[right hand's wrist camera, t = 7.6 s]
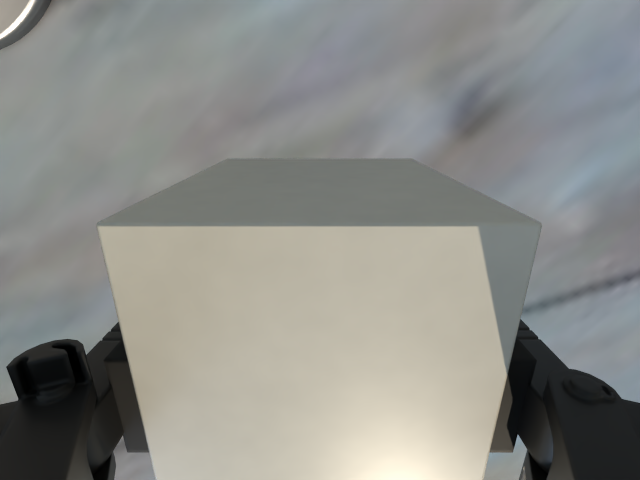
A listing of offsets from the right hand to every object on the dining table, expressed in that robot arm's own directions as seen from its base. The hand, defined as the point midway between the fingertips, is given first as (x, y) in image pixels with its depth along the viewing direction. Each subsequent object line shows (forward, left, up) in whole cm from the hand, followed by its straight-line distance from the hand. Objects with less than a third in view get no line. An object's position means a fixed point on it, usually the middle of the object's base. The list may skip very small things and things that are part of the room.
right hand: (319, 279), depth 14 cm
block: (0, 0, -2) cm, 2 cm away
